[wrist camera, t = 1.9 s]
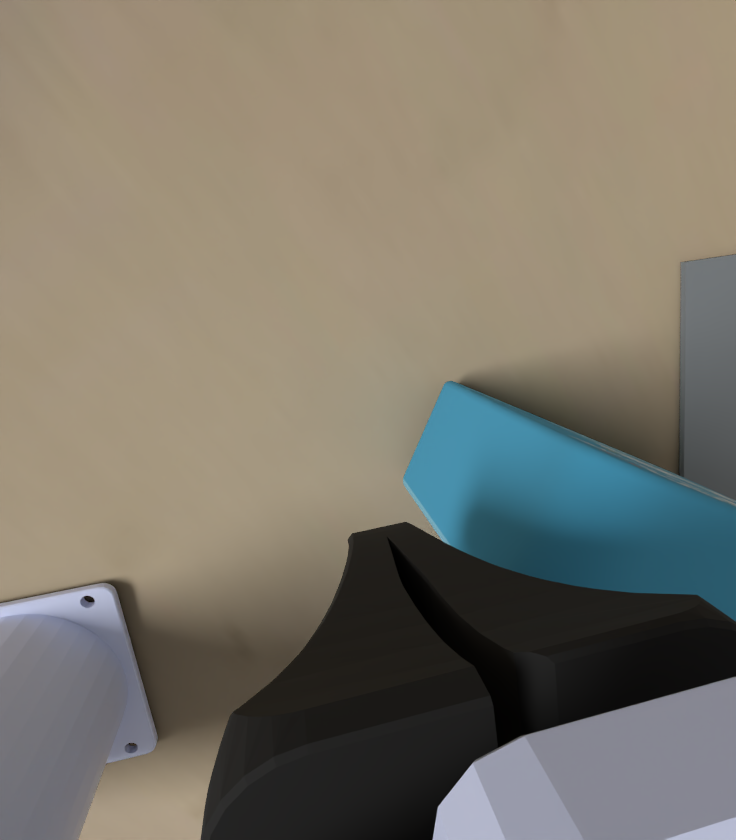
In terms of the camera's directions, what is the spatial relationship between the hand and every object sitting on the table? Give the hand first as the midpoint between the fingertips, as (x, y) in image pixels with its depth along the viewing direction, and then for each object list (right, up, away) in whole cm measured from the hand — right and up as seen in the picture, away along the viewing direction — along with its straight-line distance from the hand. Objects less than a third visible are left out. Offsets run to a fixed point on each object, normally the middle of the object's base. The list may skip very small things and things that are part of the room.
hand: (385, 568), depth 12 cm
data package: (+7, +1, +12) cm, 14 cm away
